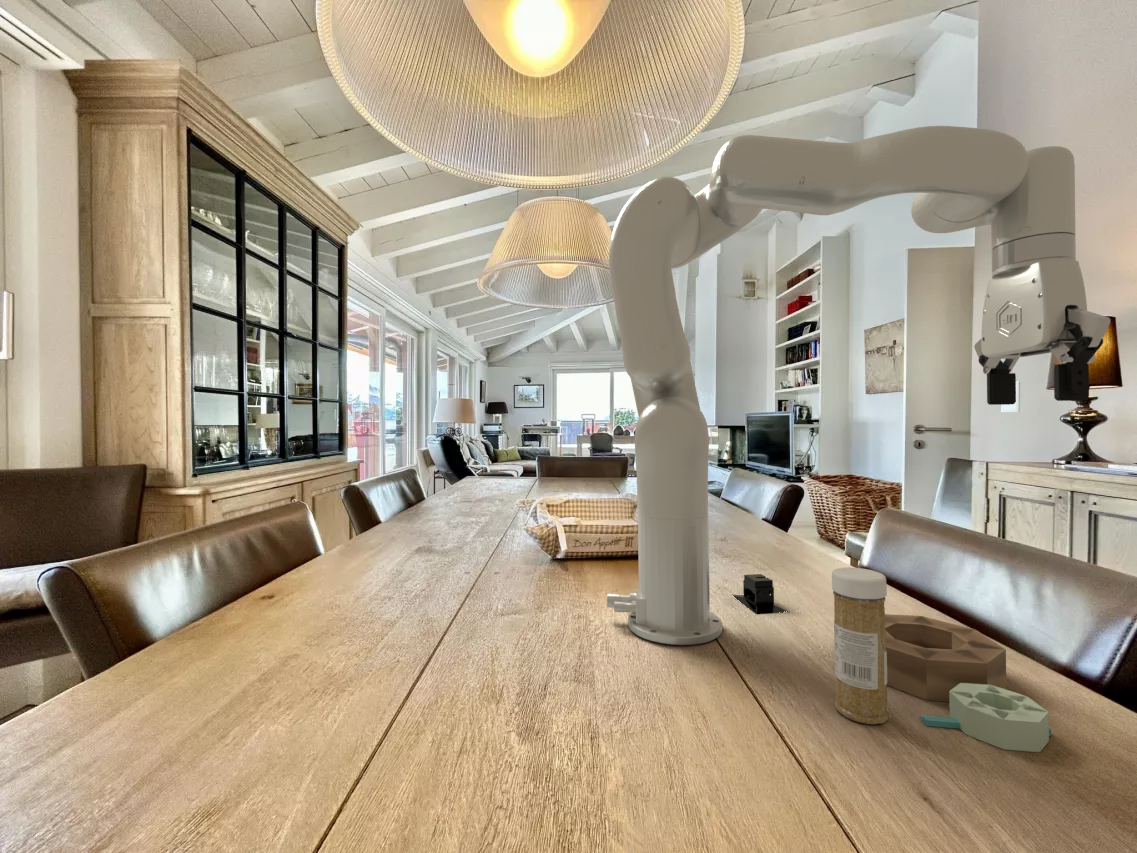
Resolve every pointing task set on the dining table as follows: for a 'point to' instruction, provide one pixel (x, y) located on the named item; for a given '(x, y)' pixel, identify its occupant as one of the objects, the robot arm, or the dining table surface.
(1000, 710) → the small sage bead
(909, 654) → the brown octagonal holder
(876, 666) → the sprinkles bottle
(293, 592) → the dining table surface
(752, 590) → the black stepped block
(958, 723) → the teal bar
